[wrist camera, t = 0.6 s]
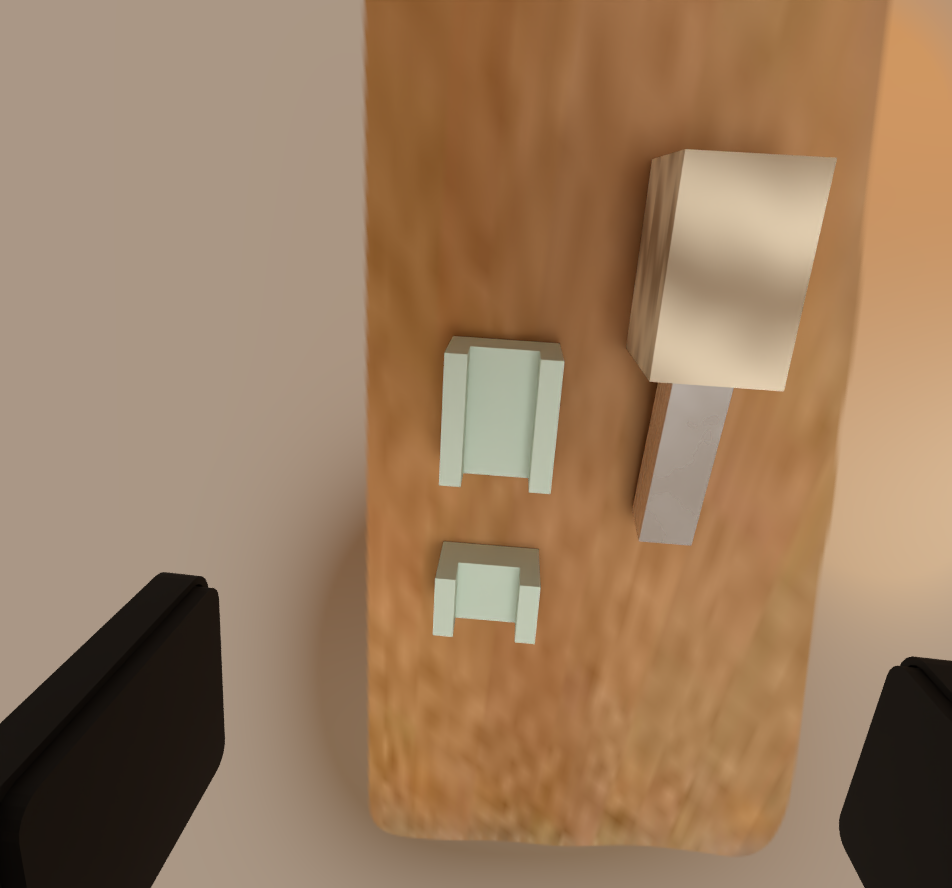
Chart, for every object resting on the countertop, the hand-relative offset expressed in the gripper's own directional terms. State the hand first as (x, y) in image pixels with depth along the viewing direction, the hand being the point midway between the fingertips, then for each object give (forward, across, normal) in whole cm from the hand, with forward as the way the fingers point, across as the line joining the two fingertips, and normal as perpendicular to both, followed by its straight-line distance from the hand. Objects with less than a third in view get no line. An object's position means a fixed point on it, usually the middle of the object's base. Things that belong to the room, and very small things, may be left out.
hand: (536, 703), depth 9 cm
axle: (+29, -9, +2) cm, 30 cm away
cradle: (+31, +1, +9) cm, 32 cm away
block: (+31, -9, -5) cm, 32 cm away
